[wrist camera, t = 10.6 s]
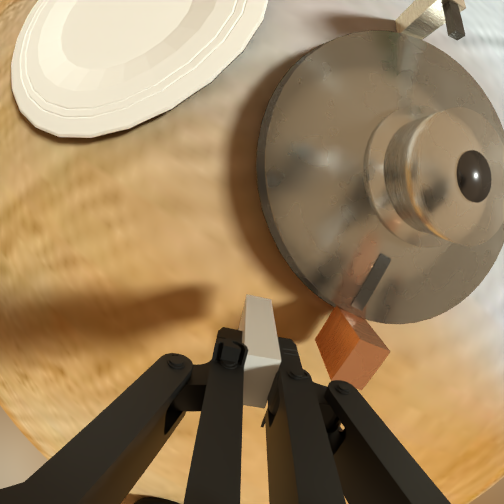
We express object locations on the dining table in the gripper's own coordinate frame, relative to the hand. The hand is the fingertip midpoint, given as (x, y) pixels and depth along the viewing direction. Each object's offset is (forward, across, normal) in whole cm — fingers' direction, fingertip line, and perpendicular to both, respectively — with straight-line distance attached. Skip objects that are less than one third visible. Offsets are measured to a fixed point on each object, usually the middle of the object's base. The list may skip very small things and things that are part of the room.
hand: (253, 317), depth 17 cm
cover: (+2, +9, +11) cm, 15 cm away
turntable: (+3, +9, +10) cm, 14 cm away
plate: (+5, -16, +21) cm, 27 cm away
